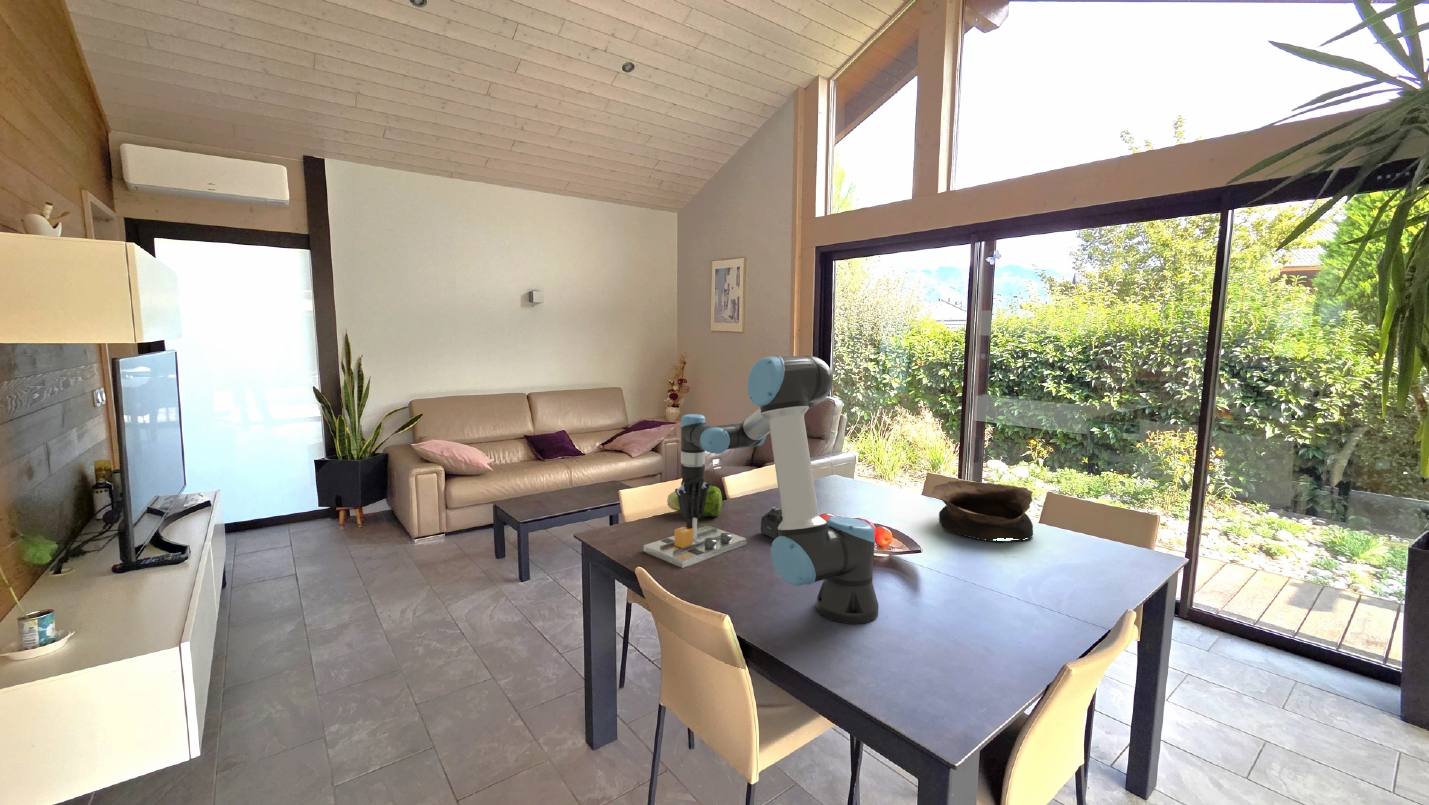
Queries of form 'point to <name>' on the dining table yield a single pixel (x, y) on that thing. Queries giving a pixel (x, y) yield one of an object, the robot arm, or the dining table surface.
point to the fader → (683, 537)
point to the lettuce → (711, 503)
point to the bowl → (985, 510)
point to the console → (696, 547)
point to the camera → (771, 522)
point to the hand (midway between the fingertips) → (692, 537)
